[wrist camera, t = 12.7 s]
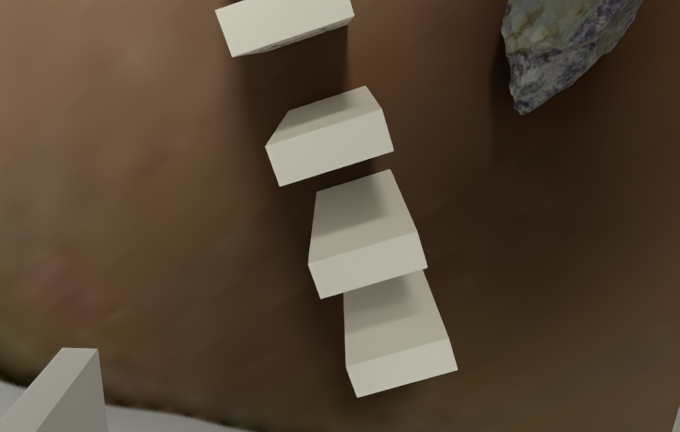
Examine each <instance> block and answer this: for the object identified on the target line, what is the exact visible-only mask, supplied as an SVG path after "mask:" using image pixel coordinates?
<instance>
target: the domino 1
mask: <svg viewBox="0 0 680 432" xmlns="http://www.w3.org/2000/svg"><path fill="white" fill-rule="evenodd" d="M215 11H216V14H217V17H218V20H219V22H220V25H221V28H222V31H223V33H224V36H225V39H226V42H227V44H228V47H229V50H230V53H231V55H232V57H237V56H243V55H249V54H255V53H262V52H268V51H271V50H274V49H277V48H280V47H283V46H286V45H289V44H292V43H295V42H298V41H301V40H304V39H307V38H310V37H313V36H316V35H319V34H322V33H324V32H327V31H330V30H333V29H336V28H339V27H342V26H345V25H348V24H349V22H350V21H351V20H352V18H353V17H354V13H353V9H352V6H351V2H350V0H243V1H240V2H238V3H235V4H232V5H229V6H226V7H223V8H220V9H217V10H215Z"/></svg>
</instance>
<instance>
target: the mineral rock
mask: <svg viewBox="0 0 680 432" xmlns="http://www.w3.org/2000/svg"><path fill="white" fill-rule="evenodd" d="M643 1H644V0H509V1H508V4H507V7H506V9H505V16H504V18H503V20H502V27H501V33H502V35H503V37H504V41H505V48H506V56H507V57H508V63H509V65H510V71H511V76H510V83H509V89H510V93H511V94H512V96H513V98H514V102H515V104H514V109H515V110H518V112H519V113H520V115H524V114H527V113H529V112H531V111H532V110H534V109H535V108H537V107H538V106H540V105H541V104H543V103H544V102H545V101H546V100H548V99H549V98H551V97H552V96H553V95H555V94H556V93H558V92H561V91H562V90H564V89H566V88H568V87H569V86H571V85H573V84H574V82H575V81H576V80H577V79H578V78H579V77H580V76H582V75H583V74H584V73H585V72H586V71H587V70H588V69H589V68H590V67H591V66H592V65H593V64H594V63H595V62H596V61H597V60H598V59H599V58H600V57H601V56H602V55H603V54H606V53H609V52H610V51H611V50H612V49H613V48H614V47H615V46H616V44H617V43H618V41H619V39H620V38H621V37H622V36H623V35H624V34H625V33H626V31H627V29H628V28H629V26H630V24H631V23H632V22H633V20H634V19H635V16H636V12H637V10H638V8H639V7H640V5H641V4H642V2H643Z"/></svg>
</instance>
